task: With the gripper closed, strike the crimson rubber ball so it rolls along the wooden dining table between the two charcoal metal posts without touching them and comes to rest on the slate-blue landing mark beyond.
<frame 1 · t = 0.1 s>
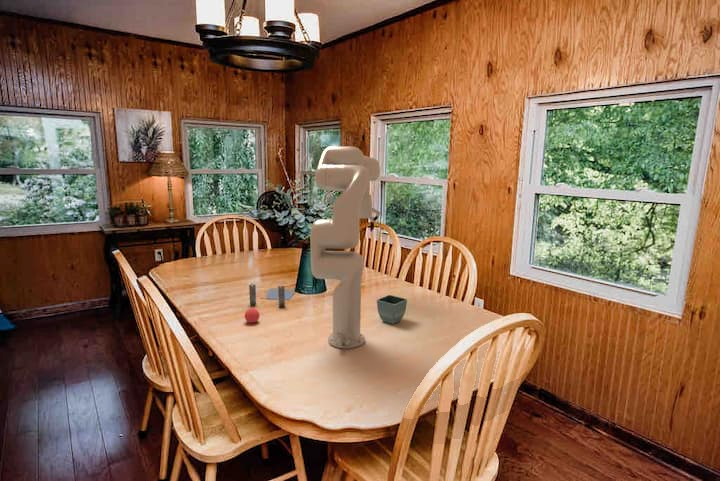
hand: (360, 230, 180), 31 cm above the table, tool pointing down, fingers open, 9 cm apart
landing mark: (278, 294, 191), on the table
flower pot: (391, 321, 161), on the table
ball: (252, 315, 157), on the table
post right: (281, 306, 175), on the table
post left: (253, 305, 176), on the table
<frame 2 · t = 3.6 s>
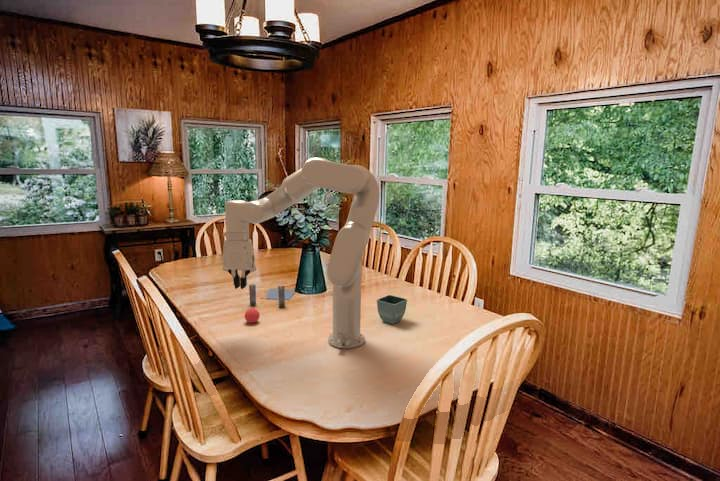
hand: (240, 287, 145), 17 cm above the table, tool pointing down, fingers closed
nothing on the table moved.
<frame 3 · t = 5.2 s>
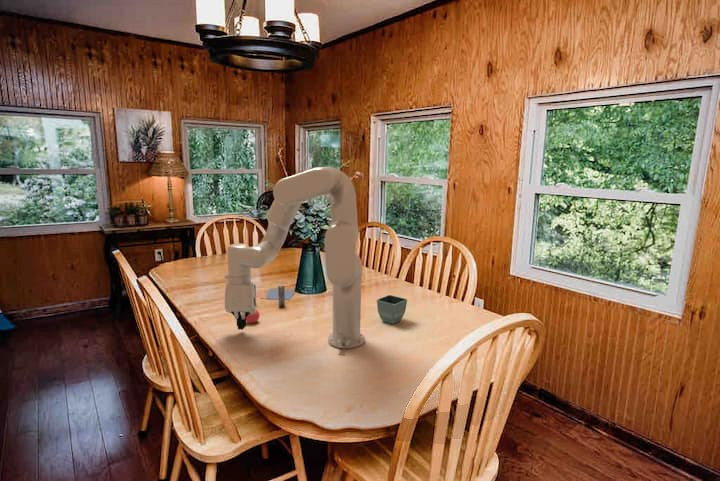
hand: (241, 328, 148), 2 cm above the table, tool pointing down, fingers closed
nothing on the table moved.
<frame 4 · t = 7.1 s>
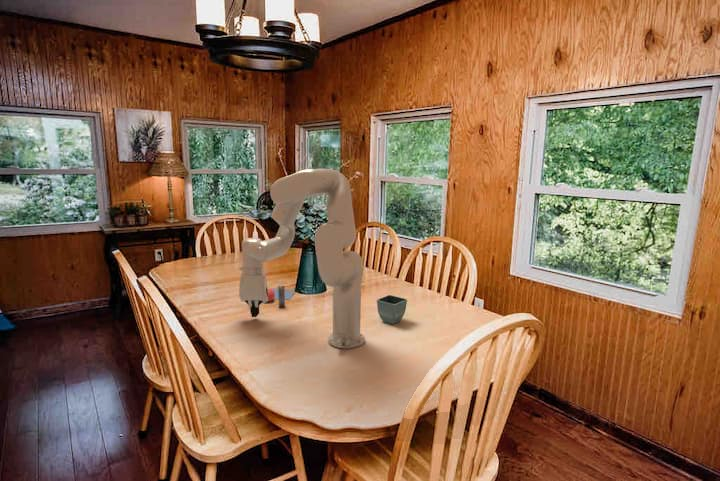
hand: (255, 315, 161), 2 cm above the table, tool pointing down, fingers closed
ball: (268, 295, 181), on the table
everything else where it was.
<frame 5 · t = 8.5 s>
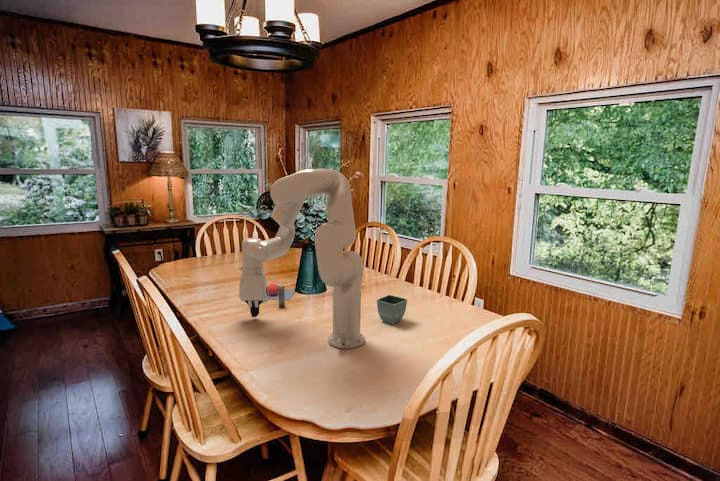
hand: (255, 315, 161), 2 cm above the table, tool pointing down, fingers closed
ball: (272, 289, 189), on the table
everything else where it was.
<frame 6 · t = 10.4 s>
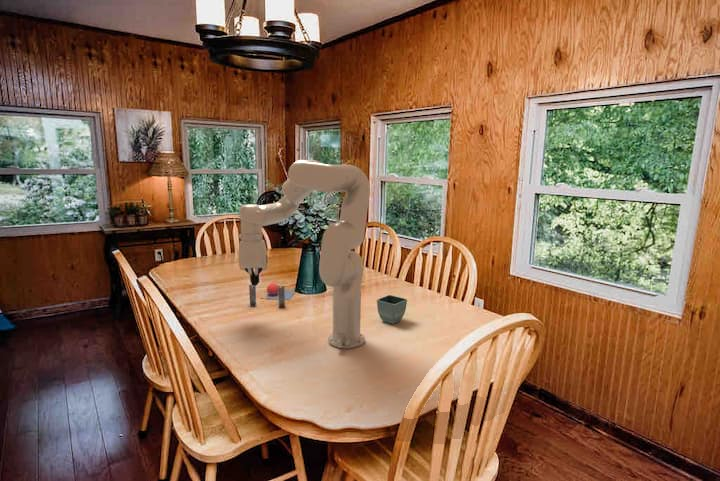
hand: (255, 284, 158), 14 cm above the table, tool pointing down, fingers closed
nothing on the table moved.
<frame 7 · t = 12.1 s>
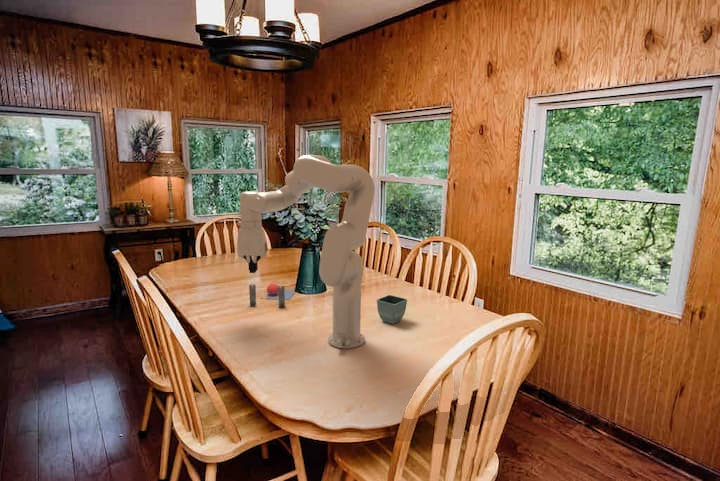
hand: (253, 272, 157), 19 cm above the table, tool pointing down, fingers closed
nothing on the table moved.
at the end: ball 2.5 cm from the landing mark (horizontally); ball never touched post left; ball never touched post right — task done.
